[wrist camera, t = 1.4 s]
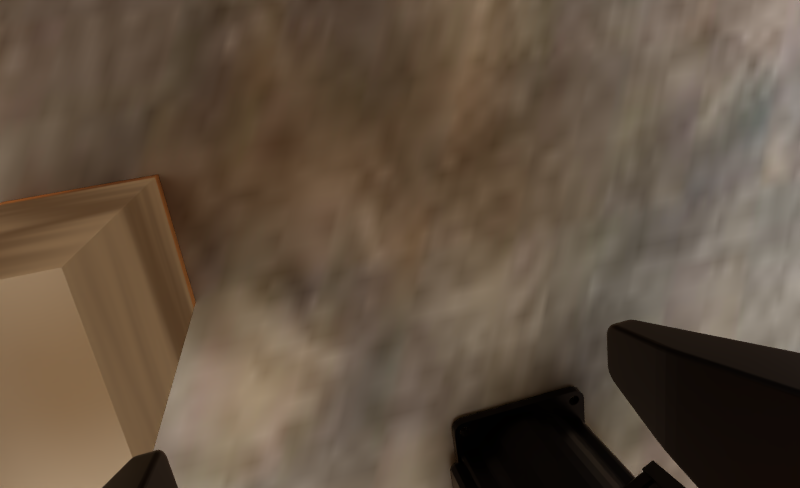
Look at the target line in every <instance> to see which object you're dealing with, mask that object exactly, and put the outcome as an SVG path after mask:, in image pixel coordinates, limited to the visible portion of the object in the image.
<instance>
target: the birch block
mask: <svg viewBox="0 0 800 488" xmlns="http://www.w3.org/2000/svg"><path fill="white" fill-rule="evenodd" d="M195 303H196V302H195V299H194V295H193V292H192V288H191V285H190V281H189V278H188V275H187V271H186V268H185V264H184V261H183V258H182V254H181V251H180V247H179V244H178V241H177V237H176V234H175V230H174V227H173V223H172V220H171V217H170V213H169V210H168V206H167V203H166V200H165V196H164V193H163V189H162V186H161V182H160V179H159V176H158V174H157V175H152V176H146V177H140V178H135V179H129V180H124V181H118V182H112V183H107V184H101V185H95V186H90V187H84V188H79V189H73V190H67V191H62V192H56V193H51V194H45V195H39V196H34V197H28V198H22V199H17V200H11V201H6V202H2V203H0V488H102V487H103V486H104V485H105V484H106V483H107V482H108V481H109V480H110V479H111V478H112V477H113V476H114V475H115V474H116V473H117V472H118V471H119V470H120V469H121V468H122V467H123V466H124V465H125V464H126V463H127V462H128V461H129V460H130V459H131V458H133V457H134V456H137V455H141V454H144V453H148V452H152V451H153V449H154V446H155V443H156V439H157V436H158V432H159V429H160V425H161V422H162V418H163V415H164V411H165V408H166V404H167V401H168V397H169V394H170V390H171V387H172V383H173V380H174V376H175V373H176V369H177V366H178V362H179V359H180V355H181V352H182V348H183V345H184V341H185V338H186V334H187V331H188V327H189V324H190V320H191V317H192V313H193V310H194V306H195Z"/></svg>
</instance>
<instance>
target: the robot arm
mask: <svg viewBox="0 0 800 488" xmlns="http://www.w3.org/2000/svg"><path fill="white" fill-rule="evenodd" d="M607 351H608V369H609V373H610V375H611V377H612V379H613V381H614V382H615V384H616V385H617V386H618V388H619V389H620V391H621V392H622V393H623V395H624V396H625V397H626V399H627V400H628V401H629V403H630V404H631V405H632V407H633V408H634V410H635V411H636V412H637V414H638V415H639V416H640V418H641V419H642V420H643V422H644V423H645V424H646V426H647V427H648V429H649V430H650V431H651V433H652V434H653V435H654V437H655V438H656V439H657V441H658V442H659V443H660V444H661V446H662V447H663V448H664V450H665V451H666V452H667V453H668V454H669V455H670V457H671V458H672V459H673V460H674V461H675V462H676V463H677V465H678V466H679V467H680V468H681V469H682V470H683V471H684V472H685V473H686V474H687V476H688V477H689V478H690V479H691V480H692V481H693V482H694V483H695V484H696V486H697V487H698V488H800V353H797V352H792V351H787V350H782V349H777V348H772V347H767V346H762V345H757V344H752V343H747V342H742V341H737V340H732V339H727V338H722V337H717V336H712V335H707V334H702V333H697V332H692V331H687V330H682V329H677V328H672V327H667V326H662V325H657V324H652V323H647V322H642V321H637V320H626V321H623V322H619V323H616V324H612V325H611V326H610V327H609V328H608V331H607ZM573 396H574V398H573V399H572V400H570V398H571V397H573ZM464 427H467V428H466V430H464V431H461V429H462V428H464ZM452 434H453V442H454V449H455V457H456V463H454V464H453V465H452V467H451V469H450V471H451V478H452V485H453V488H685V487H684V486H683V485H682V484H681V483H679V482H678V481H677V480H676V479H675V478H673V477H672V476H671V475H670V474H669V473H667V472H666V471H665V470H664V469H663V468H661V467H660V466H659V465H658V464H657V463H655V462H654V461H651V462H650V463H649V464H648V465H646V466H645V467H644V468H643V469H642V470H643V472H642V473H641V474H639V475H638V476H637V477H636V478H635V477H634V476H633V474H632V473H631V472H630V471H629V470H628V469H627V468H626V467H625V466H624V465H623V464H622V463H621V462H620V461H619V459H618V458H617V457H616V456H615V455H614V454H613V453H612V452H611V451H610V450H609V449H608V448H607V447H606V446H605V444H604V443H603V442H602V441H601V440H600V439H599V438H598V437H597V436H596V435H595V434H594V433H593V432H592V431H591V429H590V428H589V427H588V426H587V425H586V424H585V420H584V397H583V394H582V393H581V392H580V391H579V390H578V389H577V388H575V387H568V388H564V389H561V390H557V391H554V392H550V393H546V394H543V395H539V396H536V397H532V398H529V399H525V400H522V401H518V402H515V403H511V404H508V405H504V406H501V407H497V408H494V409H490V410H486V411H483V412H479V413H476V414H472V415H469V416H465V417H462V418H459V419H457V420H456V421H455V422H454V424H453V425H452ZM102 488H178V486H177V484H176V481H175V478H174V475H173V473H172V470H171V467H170V464H169V462H168V459H167V457H166V455H165V453H164V452H163V451H161V450H155V451H152V452H148V453H144V454H141V455H137V456H134V457H133V458H131V459H130V460H129V461H128V462H127V463H126V464H125V465H124V466H123V467H122V468H121V469H120V470H119V471H118V472H117V473H116V474H115V475H114V476H113V477H112V478H111V479H110V480H109V481H108V482H107V483H106V484H105V485H104V486H103V487H102Z"/></svg>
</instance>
